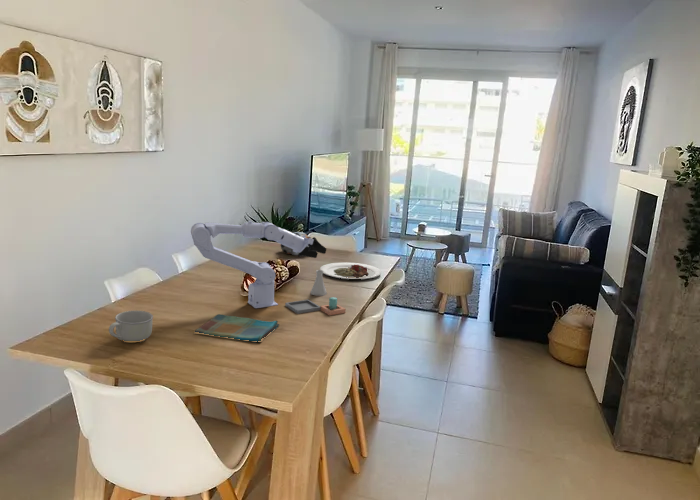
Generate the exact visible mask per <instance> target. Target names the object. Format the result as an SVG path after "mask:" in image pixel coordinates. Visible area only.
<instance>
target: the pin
mask: <svg viewBox="0 0 700 500" xmlns="http://www.w3.org/2000/svg"><path fill="white" fill-rule="evenodd" d="M337 304H338V298H337V297H334V296H333V297H329V301H328V305H329V309H330V310H334V309H337Z"/></svg>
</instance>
